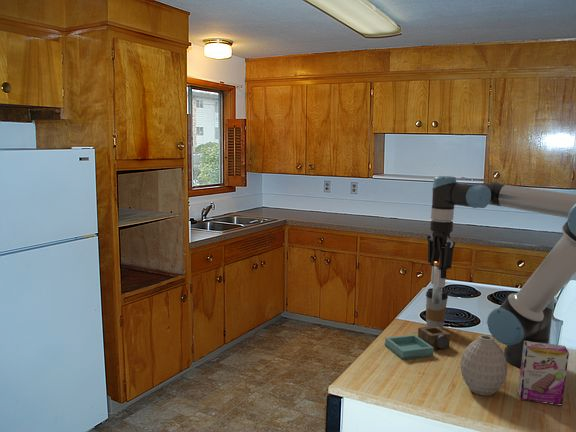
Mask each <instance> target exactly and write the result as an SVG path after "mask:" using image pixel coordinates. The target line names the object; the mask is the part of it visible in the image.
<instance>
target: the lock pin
mask: <svg viewBox="0 0 576 432" xmlns="http://www.w3.org/2000/svg"><path fill="white" fill-rule="evenodd" d="M438 268H440V259H439V260H435V261H434V279H433V284H432V288H433V295H432V303H433V304H441V300H442V289H443V287H437V280H438Z"/></svg>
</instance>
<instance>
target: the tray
mask: <svg viewBox="0 0 576 432" xmlns="http://www.w3.org/2000/svg"><path fill="white" fill-rule="evenodd" d="M384 340H385V341H384V342H385V343H384V346H385V348H387V349H388V350H389V351H391V352H392V353H393V354H394V355H396V356H397V357H398V358H400V359H401V361H402V360H404V361H405V360H411V359H413V360H414V359H420V358H427V357H434V351H435V349H434V347H432V346H431V345H429V344H428V343H426V342H425V341H423V340H422V339H421V338H419V337H418V335H416V334H407V335H399V336H398V335H397V336H390V337H385V339H384Z"/></svg>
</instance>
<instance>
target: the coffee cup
mask: <svg viewBox="0 0 576 432" xmlns="http://www.w3.org/2000/svg"><path fill="white" fill-rule="evenodd" d="M432 295H433V287H432V288H431V287H430V288H427V291H426V293H425V296H426V299H425V300H426V302H425V303H426V304H425V312H426V313H425V316H426V317H425V318H426V325H425V326H426V327H431V326H438V327H440V328H442V329H444V323H445V319H446V312H447V311H446V310H447V301H448V299H449V295H448V291H447V290H445V289H443V288H442V300H441V304H433V303H432Z"/></svg>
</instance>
